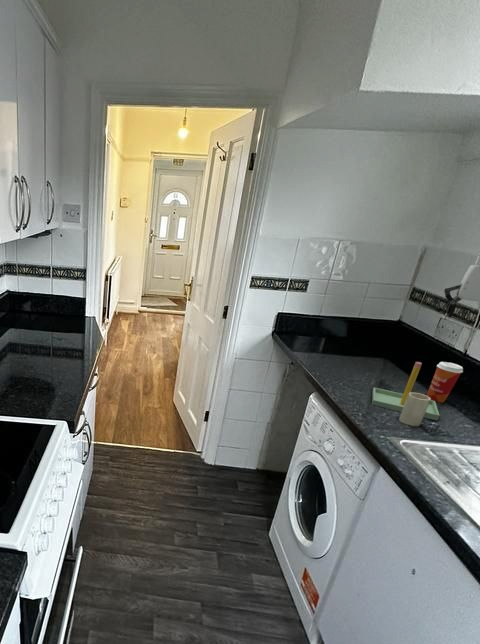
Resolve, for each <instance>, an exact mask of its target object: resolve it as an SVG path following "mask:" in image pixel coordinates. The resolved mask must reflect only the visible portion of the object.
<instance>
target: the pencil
mask: <svg viewBox="0 0 480 644" xmlns="http://www.w3.org/2000/svg"><path fill="white" fill-rule="evenodd" d="M422 365H423V363H422V362H421V361H415V363H414V365H413V368H412V371H411V373H410V376H409V379H408V381H407V383H406V385H405V388H404V392H403V393H402V394H403V396H402V399H401V402H400V404H402V405H404V404H405V402H406V399H407V396H408V394H409V393H412V391H413V388H414V385H415V383H416V380H417V377H418V375H419V372H420V370H421V367H422Z"/></svg>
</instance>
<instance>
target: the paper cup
mask: <svg viewBox="0 0 480 644" xmlns="http://www.w3.org/2000/svg"><path fill="white" fill-rule="evenodd" d="M462 373H464V368H463V366H461V365H459V364H457V363H453V362H447V361H440V362H439V363H438V364H437V365H436V370H435V372H434V375H433V377H432V380H431V382H430V385H429V388H428V391H427V394H426V396H428V397H430V398H431V400H433V401H435V403H444V402H446V400H447V398H448V396H449V395H450V393H451V392H452V390H453V388H454V387H455V384H456V383H457V381H458V379H459V377H460V376H461V374H462Z"/></svg>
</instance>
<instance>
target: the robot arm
mask: <svg viewBox="0 0 480 644" xmlns="http://www.w3.org/2000/svg"><path fill="white" fill-rule="evenodd" d="M456 290H457V291H456ZM453 291H456V296H454V297H452V295H451V292H453ZM443 292H444V297H445V299H446V300H447V301H448V303H449V304H448V306H447V309H446V312H445V314H447V317H448V318H452V317H453V315H454V313H455V310H456V307H457V303H458V302H460V301H462V300H466V301H473V302H480V252H479V253H478V255H477V258H476V260H475V262H474V264H470V266H469V267H468V268H467V269H466V272H465V273H464V275H463V277H462V279H461V281H460V283H459V284H455V285H451V286H447V287H445V288H443Z"/></svg>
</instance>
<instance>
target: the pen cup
mask: <svg viewBox="0 0 480 644" xmlns="http://www.w3.org/2000/svg"><path fill="white" fill-rule="evenodd" d="M430 400H431V398H430V397H428V396H427V394H423V393H420V392H414V391H413V392H412V391H411V393H409V394H408V396H407V399H406V402H405V404H404V407H403V409H402V412H400V415H399V417H398V421H399V422H400V423H402V424H404V425H407V426H410V427H411V426H412V427H419V426H421V425H422V422H423V419H424V415H425V412H426V410H427V407H428V405H429V403H430Z"/></svg>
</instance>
